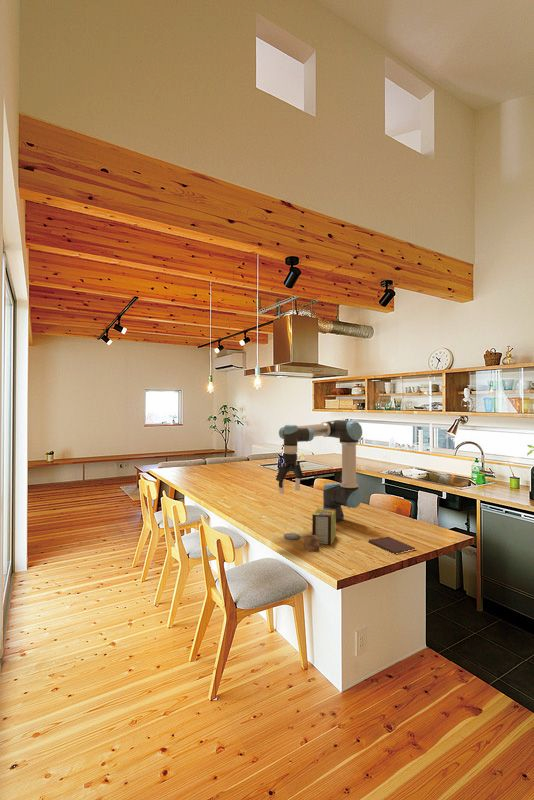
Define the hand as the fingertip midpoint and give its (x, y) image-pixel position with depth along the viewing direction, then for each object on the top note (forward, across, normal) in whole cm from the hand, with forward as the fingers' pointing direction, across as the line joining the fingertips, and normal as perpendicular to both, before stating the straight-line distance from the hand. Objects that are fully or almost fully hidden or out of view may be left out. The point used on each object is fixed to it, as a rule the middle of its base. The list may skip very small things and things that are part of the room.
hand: (289, 491), depth 217 cm
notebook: (+27, -32, +44) cm, 61 cm away
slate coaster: (+26, -5, -2) cm, 27 cm away
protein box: (+26, -15, +13) cm, 33 cm away
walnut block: (+26, +1, +16) cm, 31 cm away
